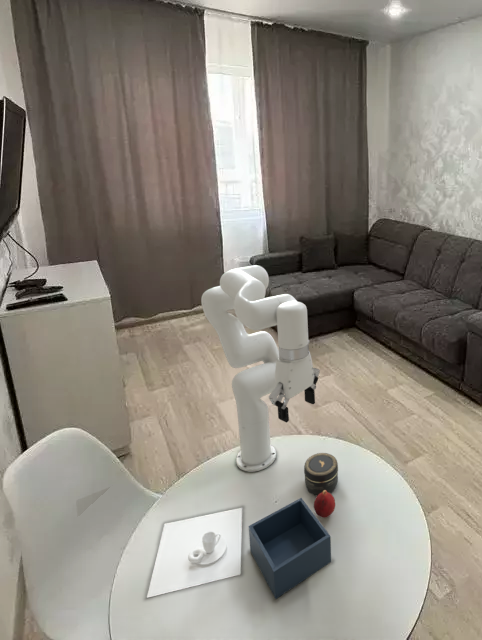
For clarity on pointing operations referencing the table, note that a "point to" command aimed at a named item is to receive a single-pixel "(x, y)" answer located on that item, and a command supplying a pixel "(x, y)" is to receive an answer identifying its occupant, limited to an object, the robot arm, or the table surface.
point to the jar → (321, 473)
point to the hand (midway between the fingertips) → (297, 411)
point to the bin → (289, 546)
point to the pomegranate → (324, 504)
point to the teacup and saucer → (198, 552)
